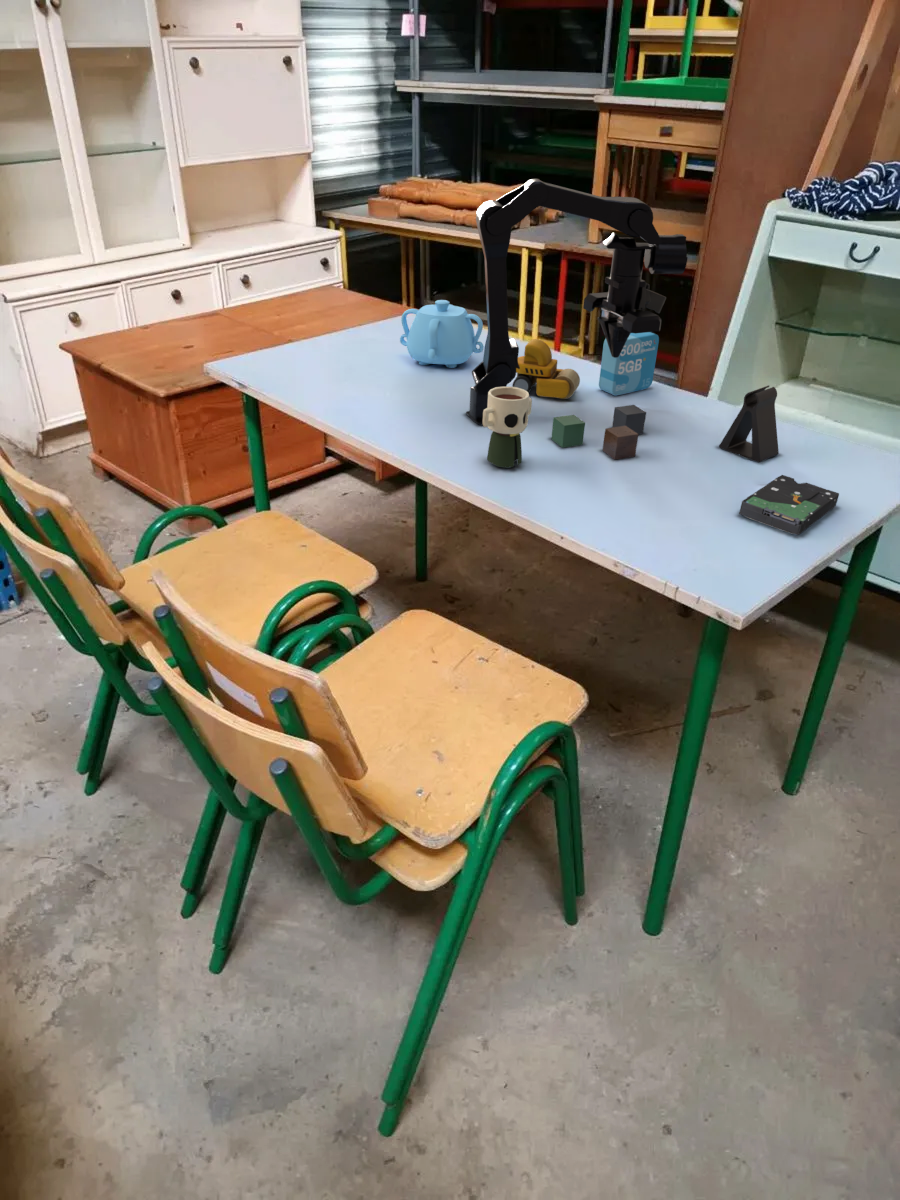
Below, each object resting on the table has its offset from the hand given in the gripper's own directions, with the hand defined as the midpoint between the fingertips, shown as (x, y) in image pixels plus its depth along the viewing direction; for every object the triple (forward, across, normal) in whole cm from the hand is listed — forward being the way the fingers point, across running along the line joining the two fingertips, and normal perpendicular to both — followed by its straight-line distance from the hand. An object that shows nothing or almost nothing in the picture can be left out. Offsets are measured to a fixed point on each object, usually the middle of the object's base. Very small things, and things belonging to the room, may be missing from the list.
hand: (615, 357), depth 170 cm
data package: (+13, +14, -13) cm, 22 cm away
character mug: (+13, -14, +29) cm, 35 cm away
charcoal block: (+12, -8, 0) cm, 14 cm away
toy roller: (+13, +18, +5) cm, 22 cm away
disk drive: (+13, -46, -7) cm, 48 cm away
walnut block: (+12, -16, +7) cm, 22 cm away
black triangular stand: (+12, -24, -17) cm, 31 cm away
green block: (+12, -8, +14) cm, 20 cm away
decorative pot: (+13, +44, +18) cm, 50 cm away
